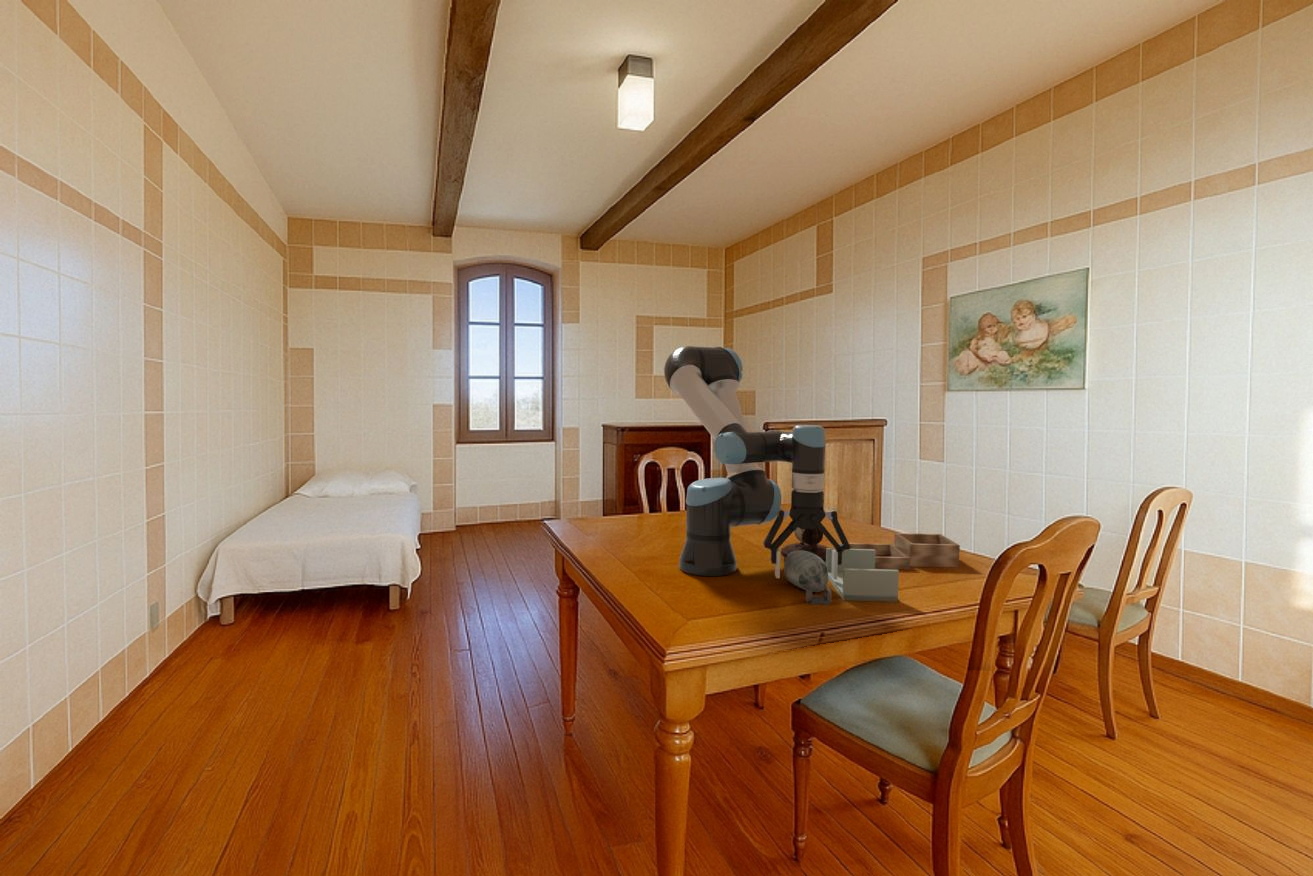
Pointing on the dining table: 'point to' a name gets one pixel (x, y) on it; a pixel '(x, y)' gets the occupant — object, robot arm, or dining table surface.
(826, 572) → the grey oval rock
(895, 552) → the frame
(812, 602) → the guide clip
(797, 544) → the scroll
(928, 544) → the frame
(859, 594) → the holder
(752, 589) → the dining table surface
